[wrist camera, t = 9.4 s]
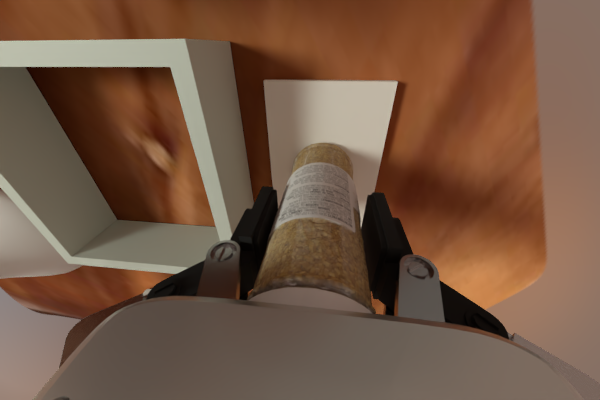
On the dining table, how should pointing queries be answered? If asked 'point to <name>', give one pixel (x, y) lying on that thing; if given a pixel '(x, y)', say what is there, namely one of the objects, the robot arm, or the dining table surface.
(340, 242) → the sprinkles bottle
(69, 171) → the open box
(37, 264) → the flower in vase
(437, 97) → the dining table surface
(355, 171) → the mat
